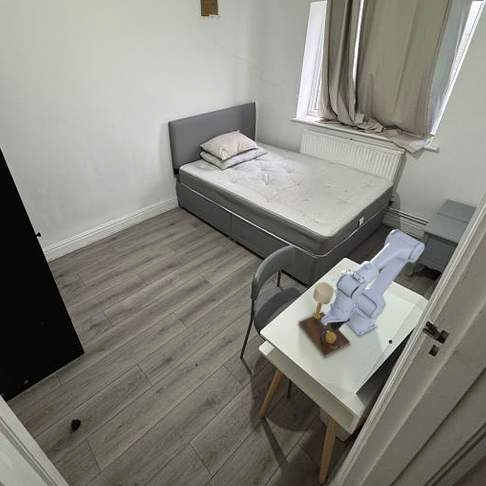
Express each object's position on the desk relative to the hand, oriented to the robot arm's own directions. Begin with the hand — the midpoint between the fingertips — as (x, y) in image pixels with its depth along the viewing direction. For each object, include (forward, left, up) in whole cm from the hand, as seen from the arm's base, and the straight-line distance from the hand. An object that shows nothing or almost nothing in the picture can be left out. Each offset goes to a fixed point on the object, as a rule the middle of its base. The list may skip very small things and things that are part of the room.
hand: (334, 327), depth 104 cm
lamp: (-2, -10, -7) cm, 12 cm away
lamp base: (-1, -4, -10) cm, 11 cm away
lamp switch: (0, 0, -7) cm, 7 cm away
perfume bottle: (-22, -16, -11) cm, 29 cm away
